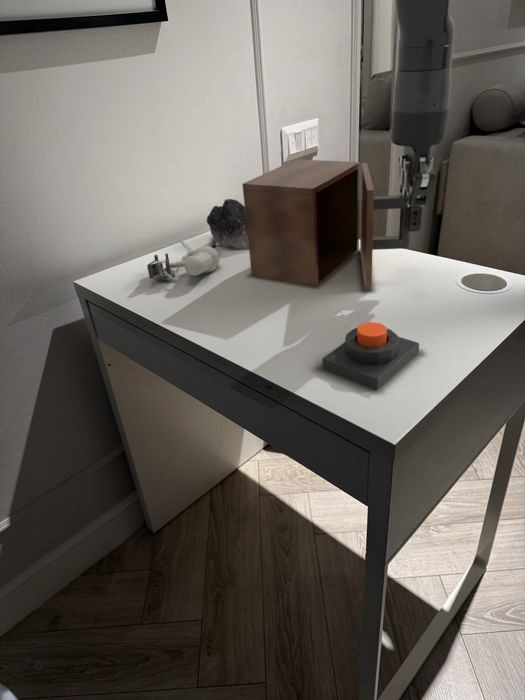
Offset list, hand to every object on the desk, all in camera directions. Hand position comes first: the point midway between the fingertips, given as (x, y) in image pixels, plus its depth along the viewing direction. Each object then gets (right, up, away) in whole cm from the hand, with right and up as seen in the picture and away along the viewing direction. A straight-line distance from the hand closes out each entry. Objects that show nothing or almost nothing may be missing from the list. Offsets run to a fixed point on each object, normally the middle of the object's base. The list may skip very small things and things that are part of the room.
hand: (410, 227), depth 81 cm
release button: (-9, -18, -15) cm, 25 cm away
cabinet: (-15, -3, +16) cm, 22 cm away
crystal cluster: (-28, +5, +32) cm, 42 cm away
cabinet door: (-2, -5, +11) cm, 12 cm away
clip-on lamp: (-37, -4, +19) cm, 42 cm away
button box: (-9, -21, -14) cm, 27 cm away
